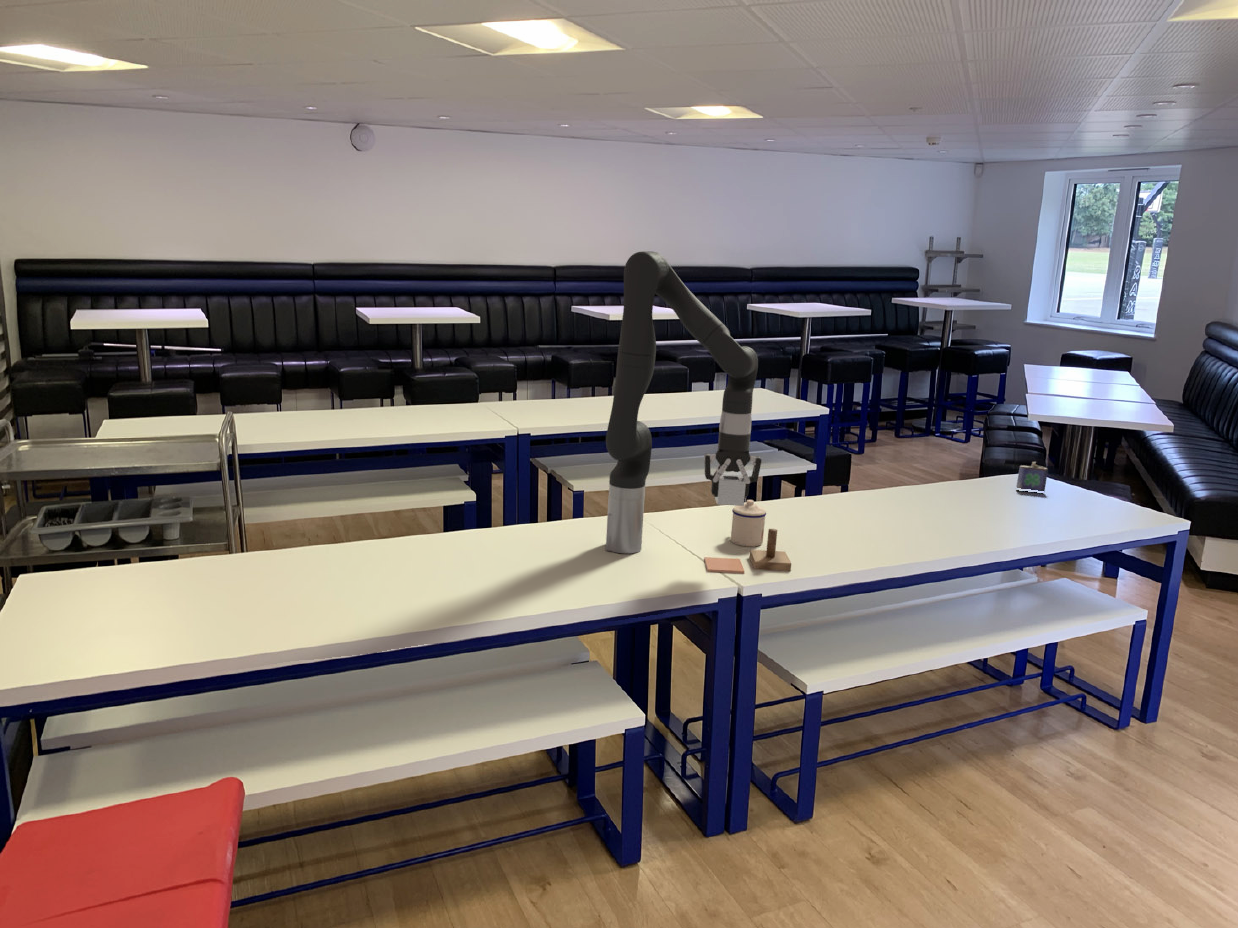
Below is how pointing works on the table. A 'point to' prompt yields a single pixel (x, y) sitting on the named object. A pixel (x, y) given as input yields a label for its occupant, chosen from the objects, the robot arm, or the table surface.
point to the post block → (770, 556)
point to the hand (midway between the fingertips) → (729, 496)
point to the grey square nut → (731, 490)
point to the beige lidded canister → (748, 524)
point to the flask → (1032, 477)
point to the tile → (723, 565)
